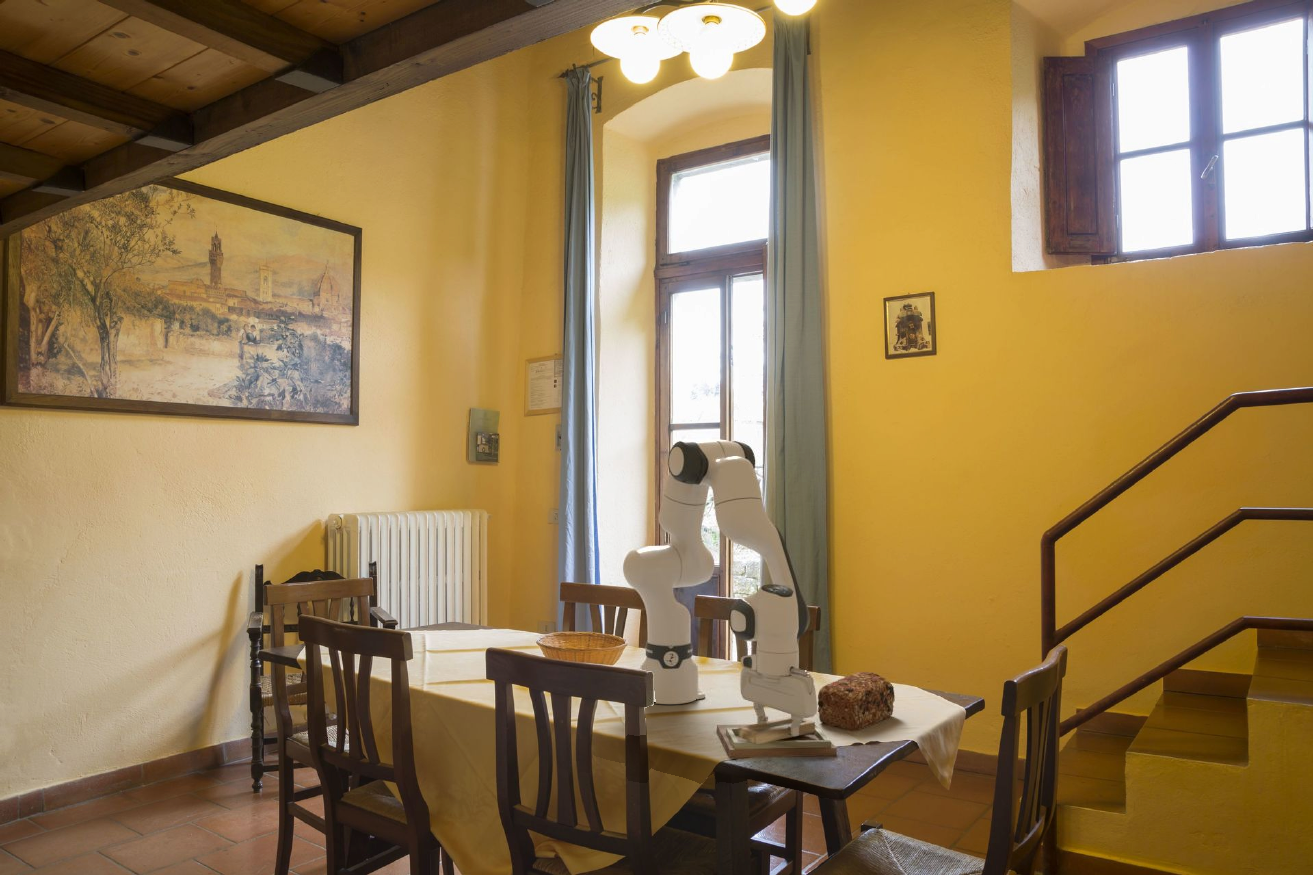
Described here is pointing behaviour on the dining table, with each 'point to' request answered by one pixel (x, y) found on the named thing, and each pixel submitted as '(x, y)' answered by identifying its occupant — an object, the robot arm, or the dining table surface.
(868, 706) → the bread
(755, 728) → the frame
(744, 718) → the dining table surface
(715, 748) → the dining table surface
